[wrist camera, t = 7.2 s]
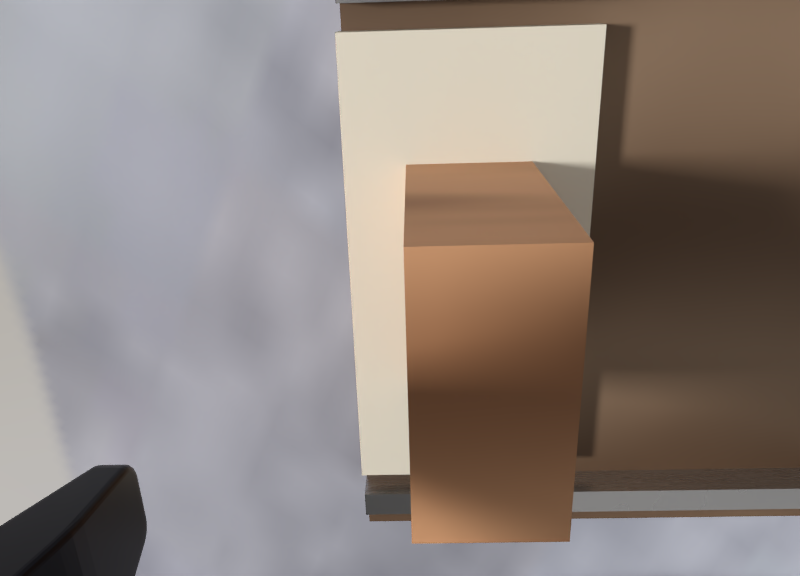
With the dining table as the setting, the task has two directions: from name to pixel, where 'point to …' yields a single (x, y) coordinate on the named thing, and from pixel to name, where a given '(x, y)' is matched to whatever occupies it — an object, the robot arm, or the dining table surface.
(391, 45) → the stub
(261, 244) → the dining table surface
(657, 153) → the ticket board
